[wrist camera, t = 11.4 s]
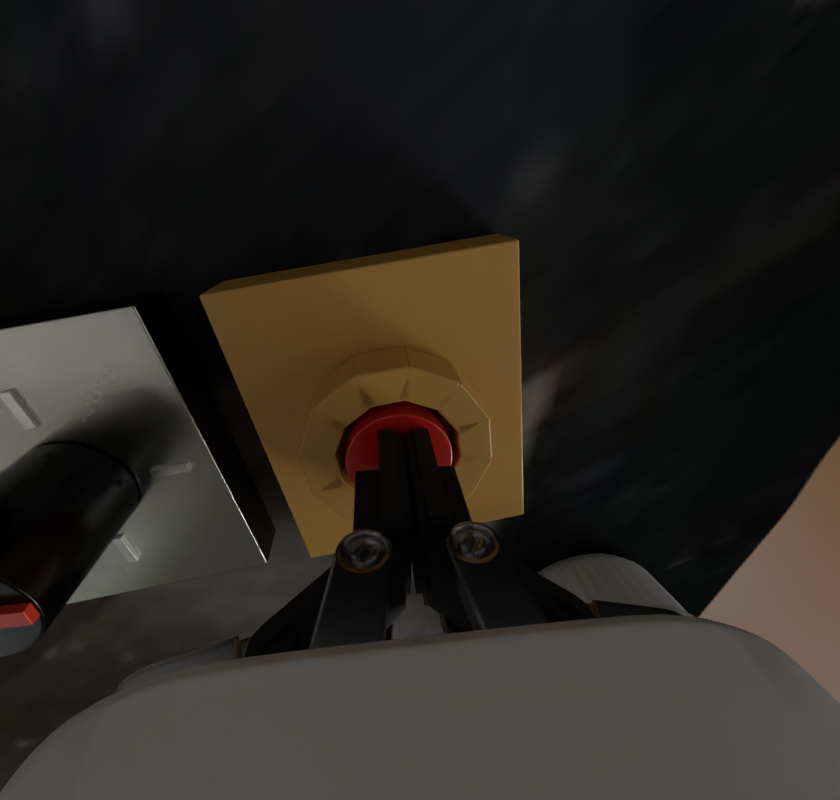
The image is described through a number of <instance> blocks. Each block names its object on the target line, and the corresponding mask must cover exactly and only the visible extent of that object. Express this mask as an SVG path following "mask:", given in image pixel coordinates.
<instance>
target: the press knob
mask: <svg viewBox="0 0 840 800" xmlns="http://www.w3.org/2000/svg"><path fill="white" fill-rule="evenodd" d="M425 428H427V429H428V431H429V435H430V438H431V442H432V446H433V449H434V453H435V457H436V461H437V464H438V466H451V462H452V447H451V443H450V440H449V437H448V434H447V432H446V429H445V426H444V423H443V420H442V417H441V415H440V413H439V412H438V411H437V410H435V409H432V408H428V407H425V406H421V405H418V404H414V403H411V402H407V401H402V402H397V403H391V404H386V405H381V406H376V407H371V408H370V409H369V410H367V411H366V412H365V413H364V414H362V415H361V416H360V417H358V418H357V419H356V420H355V421H353V422H352V423H351V424H350V425H349V426H348V433H347V446H346V459H345V460H346V468H347V472H348V474H349V477H350V478H351V480H352V482H353V483H354V484H355V473H356V471H362V470H379V456H378V430H394V434H401V440H402V447H403V454H404V461H405V434H408V433H411V429H425Z"/></svg>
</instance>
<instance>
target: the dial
mask: <svg viewBox="0 0 840 800" xmlns="http://www.w3.org/2000/svg"><path fill="white" fill-rule="evenodd" d="M138 499H139V493H138V488H137V485H136V483H135V481H134V479H133V478H132V476H131V475H130V473H129V472H128V471H127V470H126V469H125V468H124V467H123V466H122V465H120V464H119V463H118V462H116V461H115V460H114V459H112V458H110V457H108V456H107V455H105V454H103V453H100V452H98V451H96V450H93V449H90V448H86V447H83V446H78V445H71V444H50V445H45V446H40V447H37V448H34V449H31V450H30V451H28V452H26V453H24V454H23V455H22V456H20V457H19V458H18V459H16V460H15V461H14V462H13V463H11V464H10V465H9V466H7V467H6V468H5V469H3V470H2V471H1V472H0V657H5V656H9V655H13V654H16V653H19V652H21V651H24V650H26V649H28V648H29V647H31V646H32V645H34V644H35V643H36V642H37V641H39V640H40V639H41V637H42V636H43V635H44V633H45V632H46V631H47V629H48V628H49V626H50V625H51V624H52V622H53V621H54V620H55V618H56V617H57V616H58V614H59V613H60V611H61V610H62V609H63V607H64V606H65V605H66V603H67V602H68V601H69V599H70V598H71V596H72V595H73V594H74V592H75V591H76V590H77V588H78V587H79V586H80V584H81V583H82V581H83V580H84V579H85V577H86V576H87V575H88V573H89V572H90V571H91V569H92V568H93V566H94V565H95V564H96V562H97V561H98V560H99V558H100V557H101V556H102V554H103V553H104V551H105V550H106V549H107V547H108V546H109V545H110V543H111V542H112V541H113V539H114V538H115V536H116V535H117V534H118V532H119V531H120V530H121V528H122V527H123V526H124V524H125V523H126V521H127V520H128V519H129V517H130V516H131V515H132V513H133V512H134V511H135V509H136V507H137V504H138Z"/></svg>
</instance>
